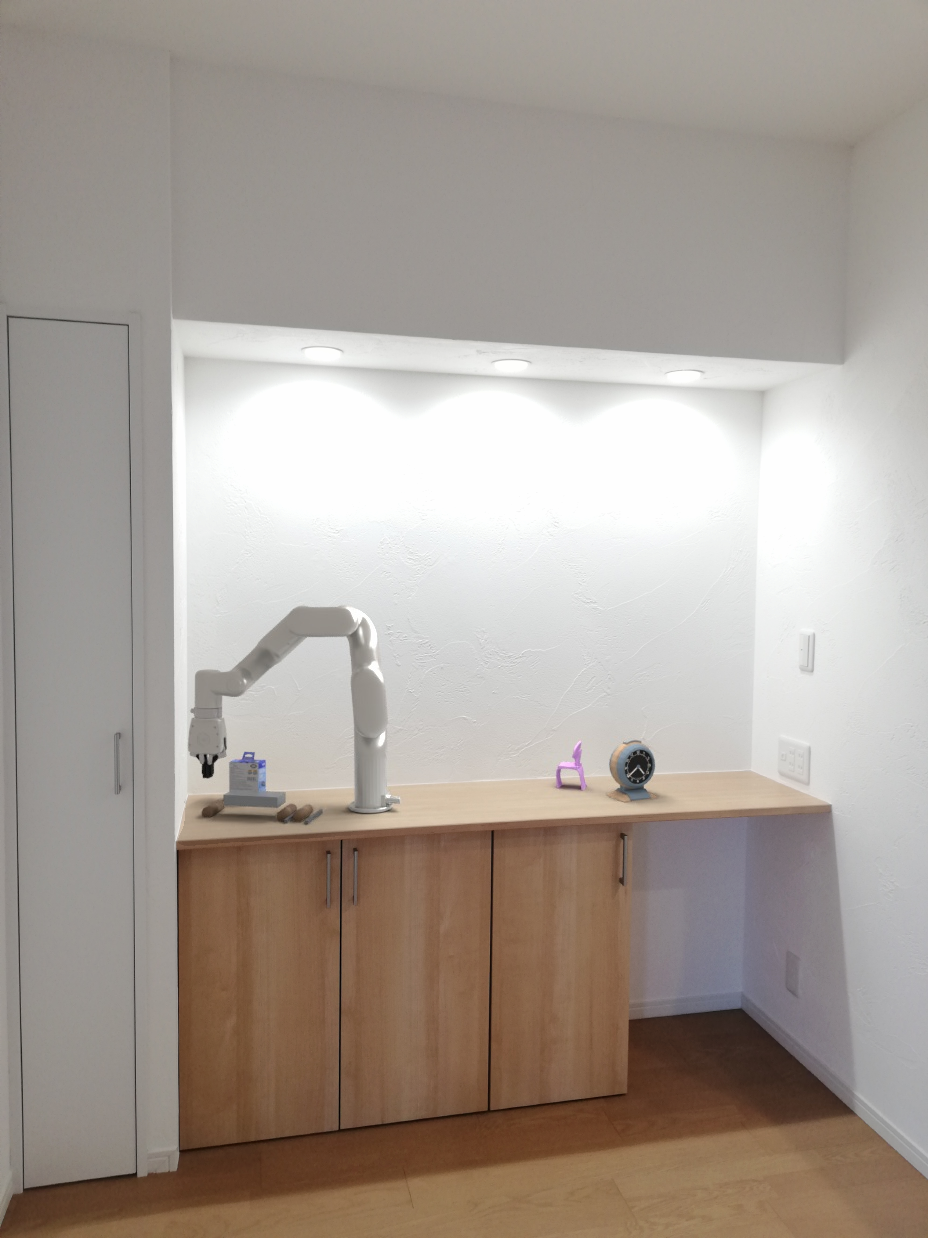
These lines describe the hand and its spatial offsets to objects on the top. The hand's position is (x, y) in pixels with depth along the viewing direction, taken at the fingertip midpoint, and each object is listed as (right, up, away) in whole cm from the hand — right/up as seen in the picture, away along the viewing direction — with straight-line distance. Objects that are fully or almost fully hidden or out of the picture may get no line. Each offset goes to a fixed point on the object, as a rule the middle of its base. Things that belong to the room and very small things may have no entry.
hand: (207, 777), depth 250 cm
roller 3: (+28, -11, -4) cm, 30 cm away
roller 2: (+23, -8, -4) cm, 25 cm away
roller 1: (+1, -11, 0) cm, 11 cm away
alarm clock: (+124, -10, +19) cm, 126 cm away
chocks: (+28, -11, -4) cm, 30 cm away
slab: (+14, -7, -2) cm, 16 cm away
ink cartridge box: (+8, -10, +15) cm, 20 cm away
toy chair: (+107, -9, +32) cm, 112 cm away
